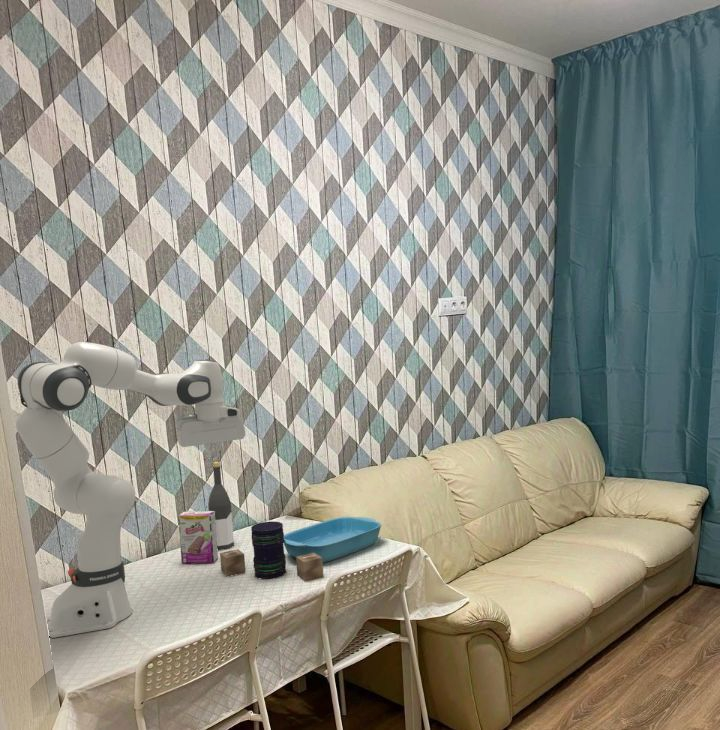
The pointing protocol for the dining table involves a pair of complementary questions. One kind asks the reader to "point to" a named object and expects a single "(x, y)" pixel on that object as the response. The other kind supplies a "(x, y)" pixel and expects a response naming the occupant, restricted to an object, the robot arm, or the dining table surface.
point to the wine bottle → (221, 511)
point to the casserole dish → (333, 537)
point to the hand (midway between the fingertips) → (213, 457)
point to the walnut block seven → (232, 562)
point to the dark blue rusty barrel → (268, 550)
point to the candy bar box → (198, 537)
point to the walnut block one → (309, 566)
